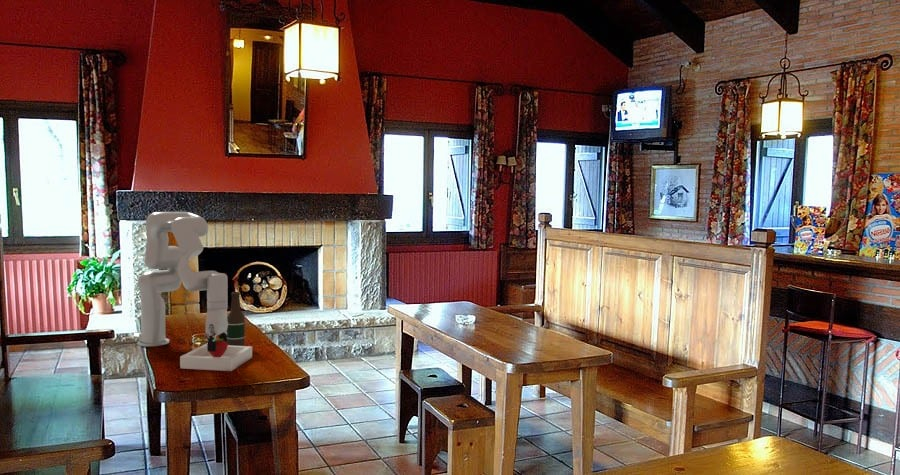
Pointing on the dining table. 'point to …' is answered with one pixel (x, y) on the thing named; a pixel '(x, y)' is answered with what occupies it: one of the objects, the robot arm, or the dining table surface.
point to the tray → (216, 358)
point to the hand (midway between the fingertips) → (217, 348)
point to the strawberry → (219, 348)
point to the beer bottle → (236, 323)
